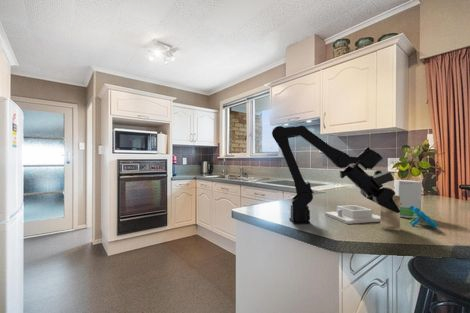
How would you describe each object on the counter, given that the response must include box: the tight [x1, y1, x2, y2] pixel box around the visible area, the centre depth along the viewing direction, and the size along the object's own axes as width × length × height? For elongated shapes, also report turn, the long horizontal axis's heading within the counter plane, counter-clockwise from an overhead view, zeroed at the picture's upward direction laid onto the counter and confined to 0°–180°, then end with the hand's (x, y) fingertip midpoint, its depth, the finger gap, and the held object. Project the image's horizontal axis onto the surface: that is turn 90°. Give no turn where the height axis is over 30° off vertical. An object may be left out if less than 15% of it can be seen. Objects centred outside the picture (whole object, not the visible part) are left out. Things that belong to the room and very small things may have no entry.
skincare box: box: [394, 179, 422, 219], centre depth 99 cm, size 8×7×16 cm
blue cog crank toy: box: [408, 206, 439, 229], centre depth 85 cm, size 11×6×10 cm
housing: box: [324, 204, 381, 225], centre depth 96 cm, size 18×14×4 cm
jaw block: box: [380, 195, 401, 231], centre depth 82 cm, size 4×4×12 cm
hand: (394, 209), depth 82 cm, fingers open, 7 cm apart
